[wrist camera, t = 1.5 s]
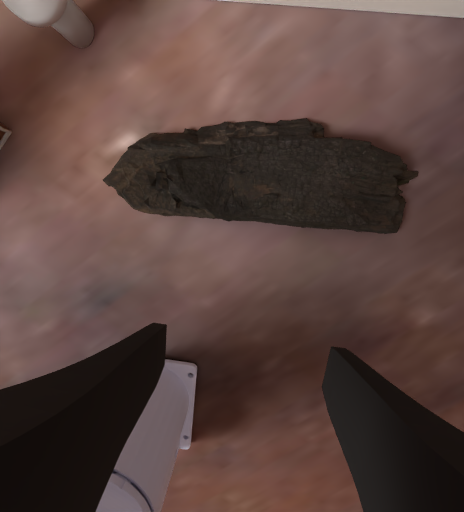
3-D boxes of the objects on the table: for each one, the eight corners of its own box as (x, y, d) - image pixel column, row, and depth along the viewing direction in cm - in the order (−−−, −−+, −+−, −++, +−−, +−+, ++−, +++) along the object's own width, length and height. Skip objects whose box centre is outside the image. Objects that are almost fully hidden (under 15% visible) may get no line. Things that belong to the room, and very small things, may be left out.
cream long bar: (512, 98, 15) (600, 64, 11) (56, 59, 17) (-3, 16, 13) (548, -8, 14) (662, -87, 10) (50, -41, 15) (-17, -121, 12)
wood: (424, 128, 17) (462, 112, 14) (398, 234, 18) (427, 241, 15) (114, 108, 18) (87, 89, 15) (117, 209, 19) (93, 211, 16)
